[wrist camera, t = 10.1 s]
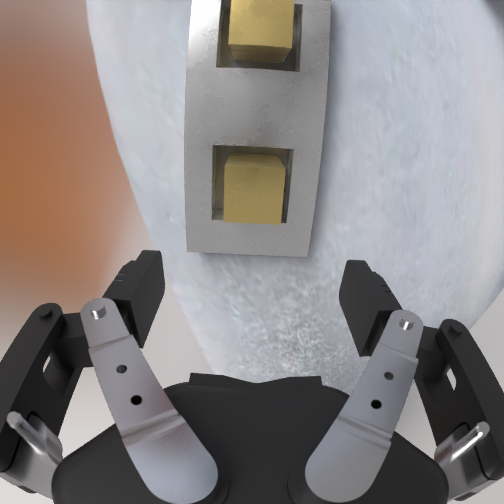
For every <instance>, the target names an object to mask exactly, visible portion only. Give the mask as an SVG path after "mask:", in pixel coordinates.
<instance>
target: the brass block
mask: <svg viewBox="0 0 504 504" xmlns="http://www.w3.org/2000/svg"><path fill="white" fill-rule="evenodd" d="M285 172H286V169H285V167H284V165H283V164H282V162H281V160H280V159H279V157H278V155H266V154H247V153H231V154H230V156H229V158H228V160H227V162H226V164H225V174H224V222H231V223H254V224H274V225H281V216H282V205H283V195H284V184H285Z"/></svg>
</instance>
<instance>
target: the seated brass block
mask: <svg viewBox="0 0 504 504" xmlns="http://www.w3.org/2000/svg"><path fill="white" fill-rule="evenodd" d="M293 17H294V0H232V1H231V13H230V25H229V39H228V45H229V48H230V51H231V54H232V57H233V60H234V61H258V62H272V63H282V62H283V61H284V59H285V58H286V56H287V55H288V53H289V52H290V50H291V49H292V38H293Z"/></svg>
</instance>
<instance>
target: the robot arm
mask: <svg viewBox="0 0 504 504" xmlns="http://www.w3.org/2000/svg"><path fill="white" fill-rule="evenodd" d="M164 290H165V279H164V271H163V263H162V255H161V252H160V251H155V250H143V251H142V252H141V254H140V255H139V256H138V258H137V259H136V261H130V262H129V263H127V264H126V265H124V266H123V267H122V268H121V270H120V271H119V273H118V275H117V276H116V277H115V279H114V281H113V282H112V283H111V285H110V286H109V288H108V289H107V291H106V292H105V294H104V295H103V297H102V298H97V299H93V300H91V301H89V302H87V303H86V304H85V305H84V306H83V307H82V309H81V312H79V313H71V314H63V312H62V309H61V307H60V306H59V305H58V304H56V303H46V304H43V305H41V306H39V307H38V308H36V309H35V310H34V311H33V312H32V314H31V315H30V317H29V318H28V320H27V321H26V323H25V324H24V326H23V327H22V329H21V330H20V332H19V333H18V334H17V336H16V338H15V339H14V341H13V342H12V344H11V345H10V347H9V349H8V350H7V352H6V354H5V355H4V357H3V359H2V360H1V362H0V477H1V478H3V479H4V480H6V481H8V482H9V483H11V484H13V485H16V486H17V487H19V488H21V489H23V490H24V491H26V492H28V493H39V494H41V495H43V496H45V497H48V498H50V499H52V500H53V501H54V504H447V502H449V501H451V500H458V501H462V500H465V499H467V498H469V497H471V496H473V495H475V494H476V493H478V492H480V491H482V490H483V489H485V488H487V487H488V486H490V485H491V484H493V483H495V482H496V481H498V480H499V479H501V478H502V477H504V393H503V390H502V388H501V387H500V385H499V383H498V381H497V379H496V377H495V375H494V373H493V372H492V370H491V368H490V366H489V364H488V362H487V361H486V359H485V357H484V356H483V354H482V352H481V350H480V349H479V347H478V346H477V344H476V342H475V341H474V339H473V337H472V336H471V334H470V333H469V331H468V329H467V328H466V327H465V326H464V325H463V324H462V323H460V322H458V321H456V320H453V319H446V320H444V321H443V322H442V323H441V325H440V327H439V329H437V328H432V327H426V326H423V322H422V320H421V319H420V318H419V317H418V316H417V315H416V314H414V313H412V312H410V311H407V310H403V309H402V307H401V306H400V304H399V302H398V301H397V299H396V298H395V296H394V294H393V293H391V290H390V288H389V287H388V285H387V284H386V282H385V280H384V279H383V278H382V277H381V276H380V275H378V274H377V273H376V272H372V271H371V269H370V267H369V266H368V264H367V263H366V261H364V260H348V261H347V263H346V266H345V270H344V274H343V278H342V282H341V286H340V290H339V302H340V305H341V307H342V310H343V313H344V315H345V318H346V321H347V323H348V326H349V329H350V331H351V334H352V337H353V339H354V342H355V345H356V348H357V351H358V353H359V356H360V357H361V356H370V357H371V358H370V360H369V362H368V364H367V366H366V368H365V370H364V371H363V373H362V375H361V377H360V379H359V381H358V383H357V384H356V386H355V388H354V390H353V391H352V393H351V395H350V396H349V395H348V394H346V393H344V392H342V391H340V390H338V389H335V388H332V387H328V386H324V385H322V381H321V376H308V377H287V378H282V379H278V380H273V381H268V382H263V383H252V382H247V381H243V380H239V379H235V378H231V377H228V376H224V375H213V374H199V373H191V374H190V380H189V382H184V383H179V384H175V385H172V386H169V387H167V388H164V389H162V387H161V386H160V384H159V382H158V380H157V379H156V377H155V375H154V373H153V372H152V370H151V368H150V366H149V365H148V363H147V361H146V359H145V357H144V356H143V354H142V352H141V350H140V348H143V346H144V343H145V341H146V338H147V336H148V333H149V331H150V328H151V325H152V323H153V320H154V318H155V315H156V313H157V310H158V308H159V305H160V303H161V300H162V298H163V295H164ZM48 356H49V357H50V358H51V359H50V361H49V363H48V365H47V367H46V369H45V371H44V373H43V367H44V364H45V362H46V360H47V358H48ZM84 367H94V369H95V372H96V375H97V378H98V381H99V383H100V386H101V389H102V392H103V394H104V397H105V399H106V402H107V404H108V407H109V409H110V411H111V414H112V416H113V419H114V421H115V424H113V425H112V426H110V427H109V428H108V429H106V430H105V431H103V432H102V433H100V434H99V435H97V436H96V437H95V438H93V439H92V440H90V441H89V442H87V443H86V444H84V445H83V446H81V447H80V448H78V449H77V450H76V451H74V452H72V453H71V454H69V455H68V456H67V457H65V458H64V459H63V456H62V452H63V450H62V444H61V442H60V440H59V438H58V435H59V432H60V429H61V426H62V423H63V420H64V417H65V414H66V411H67V409H68V406H69V403H70V400H71V398H72V395H73V392H74V390H75V387H76V384H77V382H78V379H79V377H80V374H81V372H82V369H83V368H84ZM450 368H451V370H452V372H453V374H454V376H455V378H456V387H455V390H453V388H452V385H451V383H450V381H449V379H448V377H447V372H448V370H449V369H450ZM413 378H414V380H415V383H416V385H417V388H418V391H419V394H420V396H421V399H422V402H423V405H424V407H425V411H426V414H427V417H428V420H429V423H430V426H431V429H432V432H433V436H434V439H435V442H436V446H437V448H436V450H435V454H434V460H433V459H432V458H430V457H429V456H428V455H426V454H425V453H424V452H422V451H421V450H419V449H418V448H417V447H415V446H414V445H413V444H411V443H410V442H409V441H407V440H406V439H405V438H404V437H402V436H401V435H400V434H398V433H397V432H395V431H394V430H395V427H396V425H397V422H398V420H399V417H400V415H401V412H402V409H403V407H404V404H405V401H406V398H407V396H408V393H409V390H410V387H411V384H412V381H413Z"/></svg>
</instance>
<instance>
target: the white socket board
mask: <svg viewBox="0 0 504 504" xmlns="http://www.w3.org/2000/svg"><path fill="white" fill-rule="evenodd" d="M231 1H232V0H193V1H192V10H191V19H190V30H189V42H188V56H187V72H186V94H185V130H184V178H185V217H186V239H187V252H202V253H224V254H246V255H269V256H291V257H308V250H309V244H310V238H311V231H312V224H313V217H314V210H315V203H316V195H317V187H318V179H319V171H320V162H321V153H322V144H323V133H324V123H325V111H326V99H327V85H328V69H329V50H330V20H331V0H294V14H298V16H297V38H296V57H295V72H292V71H282V70H270V69H254V68H220V57H221V42H222V29H223V16H224V10H231ZM216 145H231V146H254V147H271V148H284V149H289V155H288V167H287V178H286V189H285V199H284V210H283V212H282V216H281V225H274V224H254V223H231V222H224V209H215V190H216Z"/></svg>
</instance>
